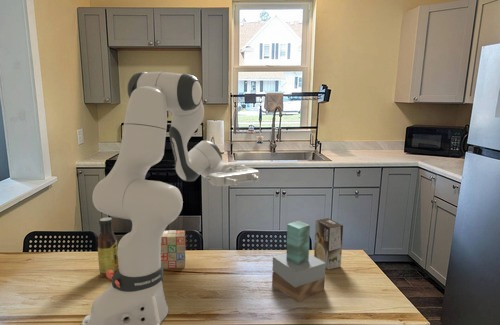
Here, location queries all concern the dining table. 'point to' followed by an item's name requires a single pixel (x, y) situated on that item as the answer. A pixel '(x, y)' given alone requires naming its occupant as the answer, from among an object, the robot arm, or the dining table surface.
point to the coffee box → (328, 242)
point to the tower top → (299, 270)
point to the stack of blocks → (173, 249)
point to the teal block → (298, 242)
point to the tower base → (298, 292)
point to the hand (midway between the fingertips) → (247, 181)
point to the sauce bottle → (107, 247)
